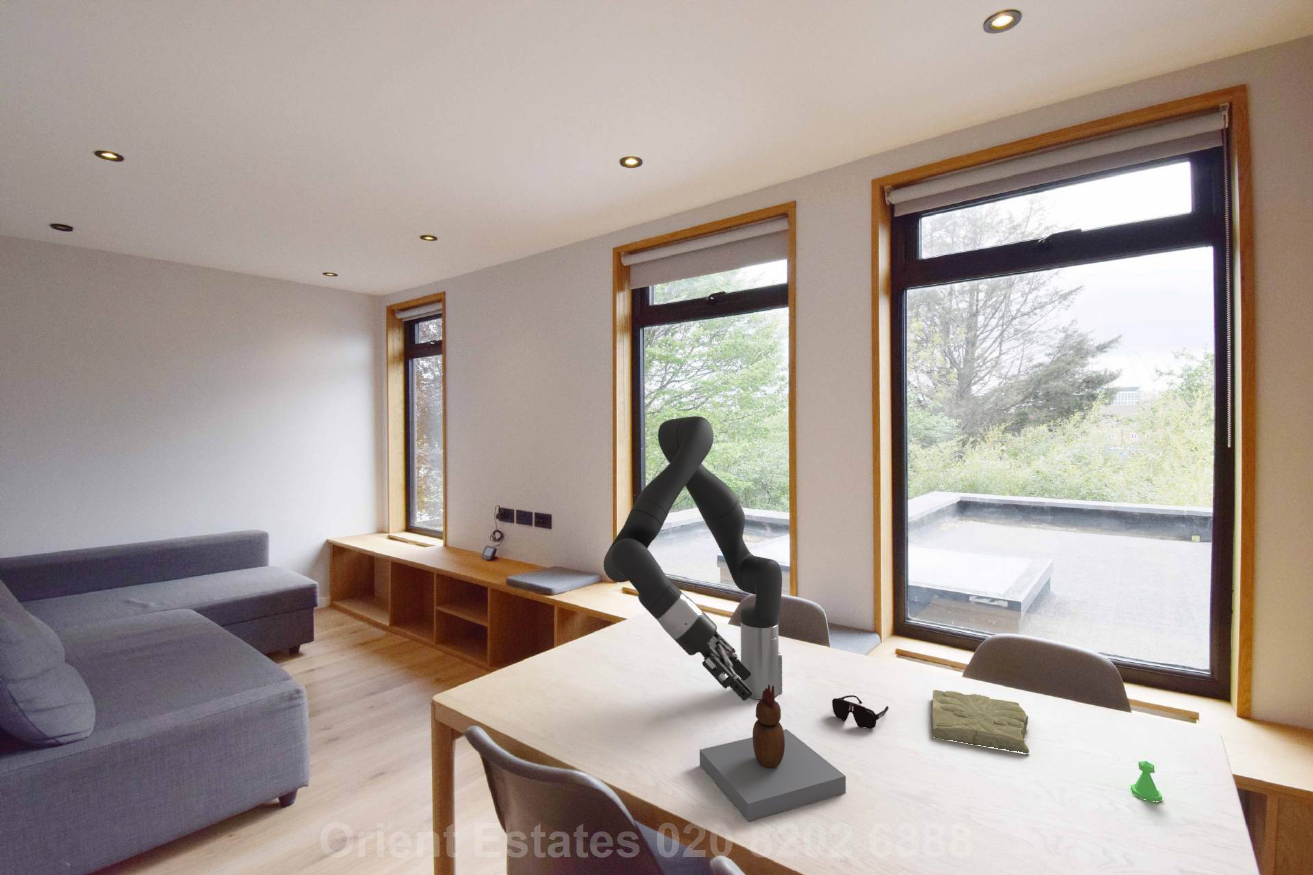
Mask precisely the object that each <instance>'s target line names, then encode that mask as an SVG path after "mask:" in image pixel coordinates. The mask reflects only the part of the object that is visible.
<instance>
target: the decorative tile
mask: <svg viewBox="0 0 1313 875" xmlns="http://www.w3.org/2000/svg"><path fill="white" fill-rule="evenodd" d="M931 712H932V714H931V715H932V735H933V736H934V737H935V738H934V737H933V738H934V739H936V738H941V739H944V740H943V741H946V740H953V741H957V742H963V743H968V744H973V745H972V746H974V745H981V746H986V747H994V748H998V749H1006V750H1009V751H1017V752H1018V751H1019V752H1023V753H1028V754H1029V753H1030V748H1029V747H1028V744H1026V743H1025V740H1024V738H1025V739H1026V734H1027V733H1028V731H1027V727H1028V725H1029V724H1028V722H1029V716H1028V715H1027V714H1026V711H1025V710H1024V709H1023V708H1022V707H1021V706H1020V703H1019V702H1016V701H1008V700H1003V699H997V698H990V697H989V696H986V695H981V694H977V693H971V694H965V693H962V692H958V691H953V690H946V691H943V690H939V689H933V691H932V711H931ZM1026 732H1027V733H1026ZM1025 733H1026V734H1025ZM941 739H940V740H941ZM957 742H956V743H957ZM963 743H962V744H963ZM968 744H967V745H968Z"/></svg>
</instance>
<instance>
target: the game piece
mask: <svg viewBox="0 0 1313 875" xmlns="http://www.w3.org/2000/svg"><path fill="white" fill-rule="evenodd" d="M1137 763H1138V770H1140V771H1142V772H1141V774H1140V775H1139V777H1138V779H1137V781H1136V782H1135V783H1134V784H1130V791H1131V790H1132V791H1131V793H1132V792H1133V793H1132V795H1133V794H1135V795H1137V796H1138V797H1137V796H1136V797H1137V798H1139V797H1140V798H1139V799H1141V798H1142V799H1146V800H1149V801H1148V802H1150V801H1155V802H1156V801H1160V802H1162V801H1163V795H1162V793H1161V792H1160V790H1158V789H1157V786H1156V784H1155V782H1154V780H1153V778H1152V775H1151V774H1154V773H1156V770H1155V765H1154V764H1152V763H1151V762H1149V761H1147V760H1145V761H1143V760H1142V761H1141V760H1140V761H1138V762H1137ZM1135 795H1134V796H1135ZM1142 799H1141V800H1142ZM1146 800H1145V801H1146ZM1161 800H1162V801H1161ZM1155 802H1154V803H1155ZM1156 803H1157V802H1156Z"/></svg>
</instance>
